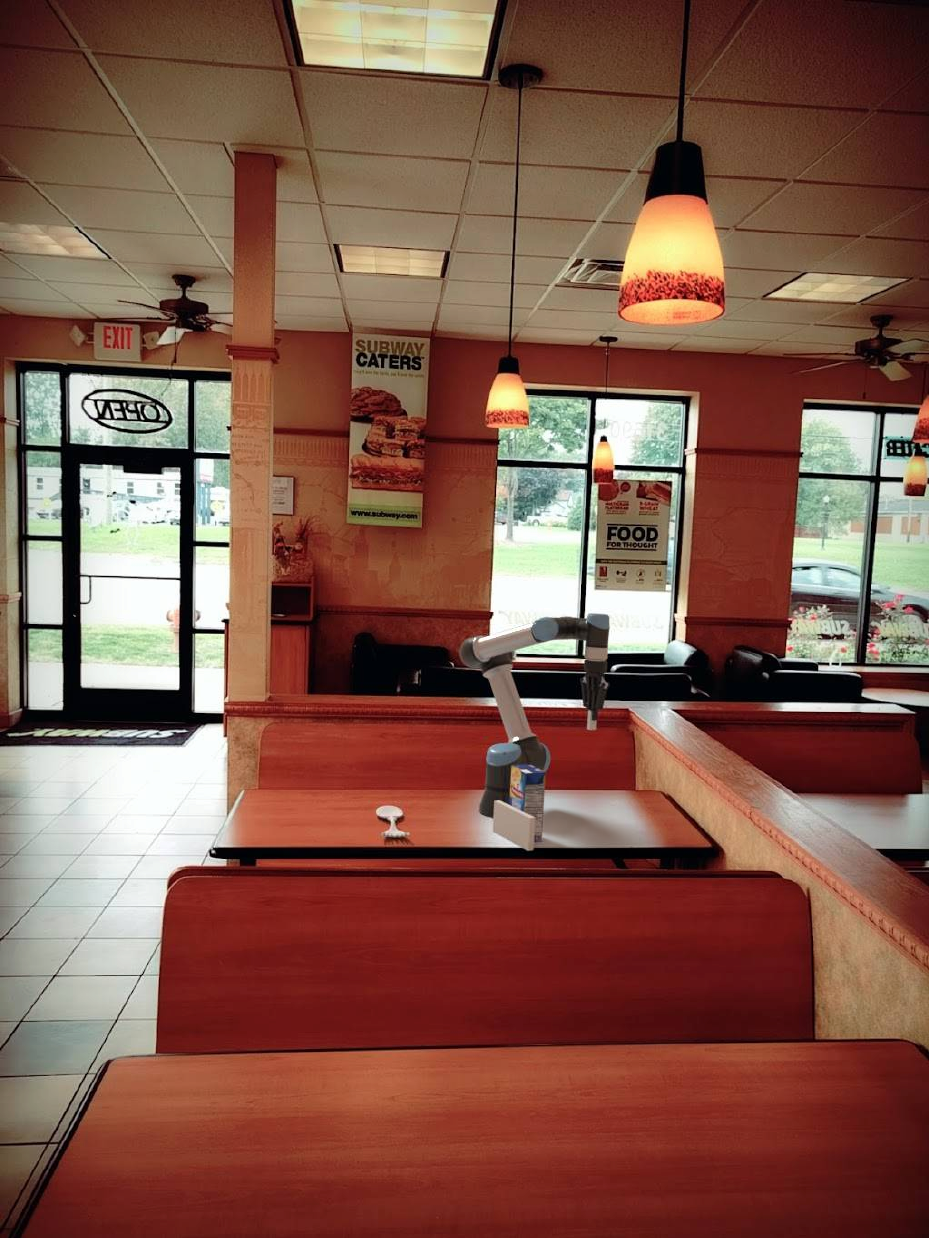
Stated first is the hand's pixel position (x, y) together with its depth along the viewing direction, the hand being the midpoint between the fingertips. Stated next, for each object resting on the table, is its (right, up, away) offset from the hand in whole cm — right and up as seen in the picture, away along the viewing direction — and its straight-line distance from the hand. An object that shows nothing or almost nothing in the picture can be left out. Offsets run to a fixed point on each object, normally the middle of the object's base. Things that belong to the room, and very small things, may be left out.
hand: (591, 729), depth 280 cm
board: (-28, -32, -19) cm, 47 cm away
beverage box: (-24, -32, -15) cm, 43 cm away
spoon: (-66, -30, -12) cm, 74 cm away
